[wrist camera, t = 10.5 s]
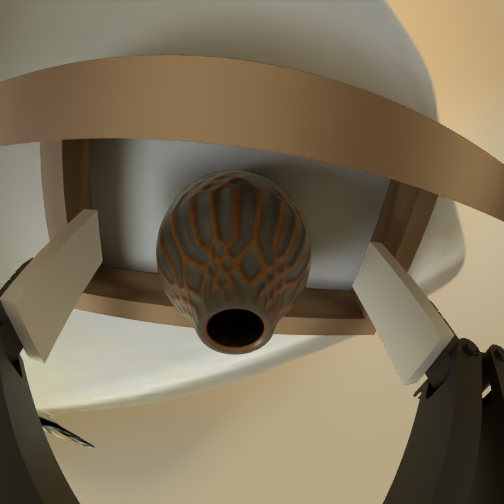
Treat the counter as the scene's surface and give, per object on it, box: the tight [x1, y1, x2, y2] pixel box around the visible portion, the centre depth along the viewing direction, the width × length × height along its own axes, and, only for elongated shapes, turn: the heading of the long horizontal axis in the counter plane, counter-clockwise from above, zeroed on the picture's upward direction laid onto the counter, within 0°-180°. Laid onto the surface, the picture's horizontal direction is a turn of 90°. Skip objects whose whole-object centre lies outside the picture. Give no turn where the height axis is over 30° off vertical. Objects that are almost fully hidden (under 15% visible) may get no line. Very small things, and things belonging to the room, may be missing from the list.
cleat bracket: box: [0, 55, 504, 335], centre depth 11 cm, size 24×13×10 cm, turn 81°
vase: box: [156, 170, 311, 354], centre depth 12 cm, size 7×7×9 cm
